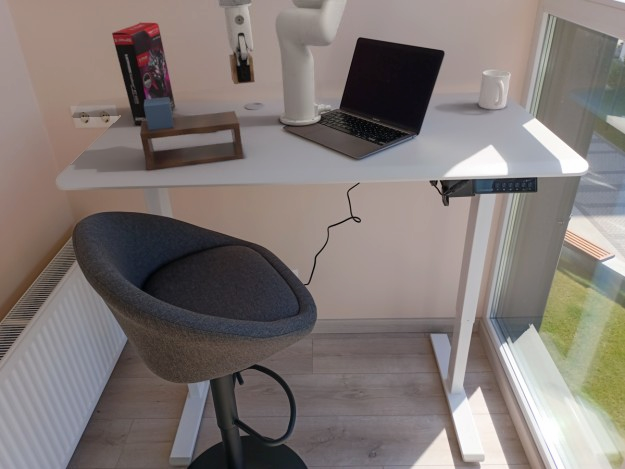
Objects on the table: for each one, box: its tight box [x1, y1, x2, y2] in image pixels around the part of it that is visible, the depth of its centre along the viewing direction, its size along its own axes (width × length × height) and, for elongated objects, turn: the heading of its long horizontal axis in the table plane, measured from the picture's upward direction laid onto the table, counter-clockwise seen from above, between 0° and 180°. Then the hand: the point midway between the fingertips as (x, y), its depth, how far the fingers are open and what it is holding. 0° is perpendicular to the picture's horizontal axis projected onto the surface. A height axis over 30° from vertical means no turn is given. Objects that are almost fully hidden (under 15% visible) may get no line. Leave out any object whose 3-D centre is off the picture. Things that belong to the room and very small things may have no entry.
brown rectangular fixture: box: [139, 110, 244, 171], centre depth 131 cm, size 24×10×10 cm, turn 104°
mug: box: [478, 69, 512, 111], centre depth 157 cm, size 12×8×10 cm
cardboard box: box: [228, 52, 255, 85], centre depth 125 cm, size 5×5×6 cm
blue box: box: [144, 97, 174, 130], centre depth 126 cm, size 6×6×6 cm
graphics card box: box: [111, 22, 176, 126], centre depth 156 cm, size 17×7×27 cm, turn 168°
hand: (242, 78), depth 126 cm, fingers closed on cardboard box, 5 cm apart
